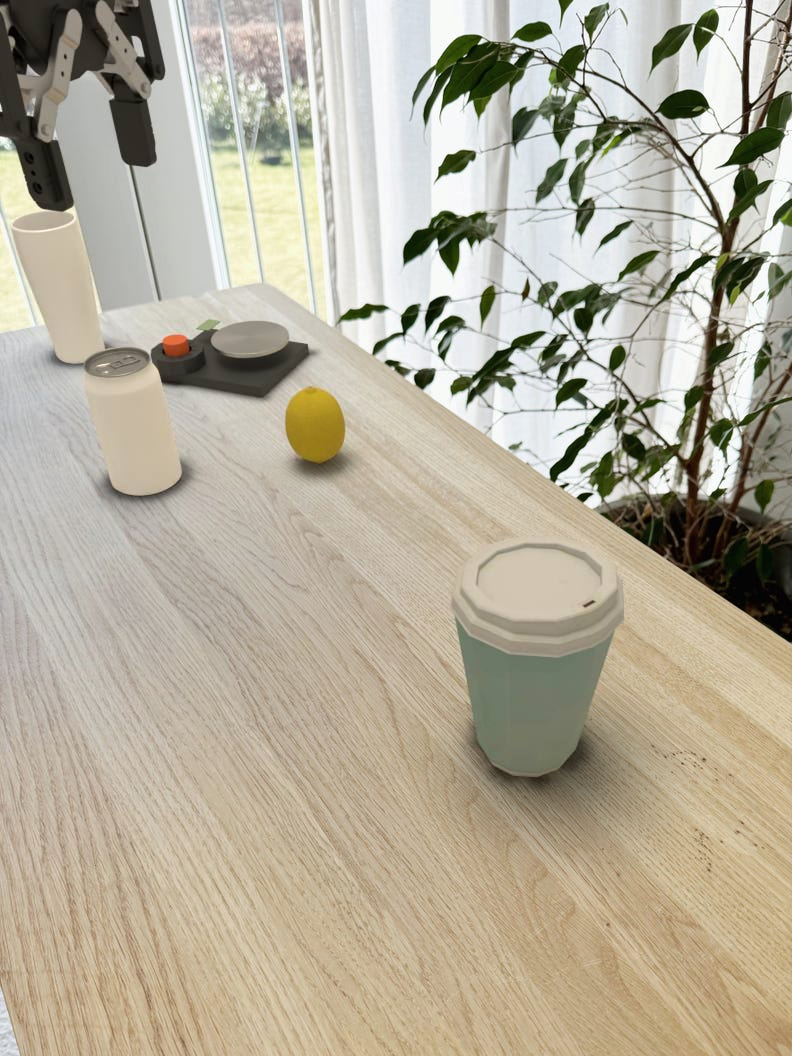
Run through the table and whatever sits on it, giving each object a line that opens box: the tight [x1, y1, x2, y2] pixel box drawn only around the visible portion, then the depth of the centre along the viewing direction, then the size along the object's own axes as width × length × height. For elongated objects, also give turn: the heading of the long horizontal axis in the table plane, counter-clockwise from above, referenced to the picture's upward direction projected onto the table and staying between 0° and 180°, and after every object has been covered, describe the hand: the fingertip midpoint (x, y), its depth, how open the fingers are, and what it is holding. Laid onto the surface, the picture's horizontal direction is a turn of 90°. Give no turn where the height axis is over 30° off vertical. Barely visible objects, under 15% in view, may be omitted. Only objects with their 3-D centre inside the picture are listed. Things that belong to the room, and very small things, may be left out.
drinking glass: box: [9, 209, 106, 365], centre depth 109 cm, size 7×7×15 cm
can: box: [82, 346, 183, 497], centre depth 90 cm, size 6×6×12 cm
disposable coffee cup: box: [449, 534, 625, 778], centre depth 64 cm, size 11×11×15 cm
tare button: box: [161, 333, 190, 357], centre depth 108 cm, size 3×3×2 cm
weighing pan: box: [195, 318, 290, 358], centre depth 110 cm, size 12×8×1 cm
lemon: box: [284, 385, 346, 465], centre depth 94 cm, size 6×6×8 cm
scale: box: [150, 328, 310, 399], centre depth 111 cm, size 14×12×3 cm
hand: (100, 185), depth 61 cm, fingers open, 8 cm apart
